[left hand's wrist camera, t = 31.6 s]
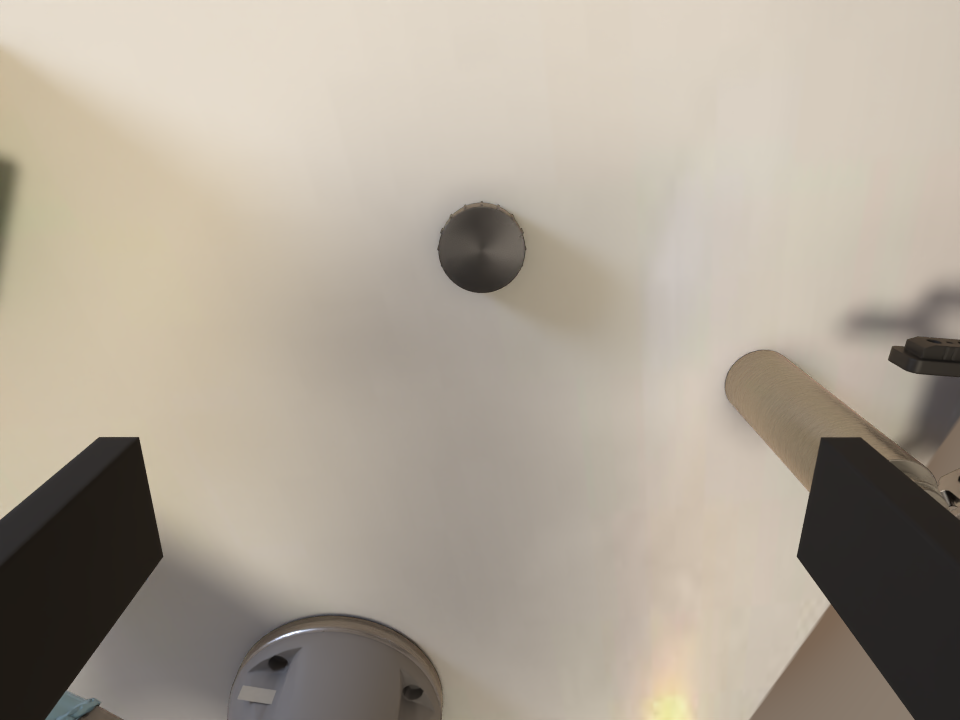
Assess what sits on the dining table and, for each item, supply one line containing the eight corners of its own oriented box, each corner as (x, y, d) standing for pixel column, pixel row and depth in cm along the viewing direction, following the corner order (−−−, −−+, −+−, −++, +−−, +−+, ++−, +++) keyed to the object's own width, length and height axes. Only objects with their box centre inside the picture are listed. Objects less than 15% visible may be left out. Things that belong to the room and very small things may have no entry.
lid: (422, 233, 37) (420, 238, 35) (494, 184, 36) (494, 187, 34) (470, 301, 38) (469, 309, 36) (540, 256, 37) (542, 262, 36)
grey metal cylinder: (748, 339, 39) (898, 462, 25) (807, 365, 39) (986, 501, 26) (711, 397, 40) (835, 546, 26) (769, 422, 41) (919, 580, 27)
